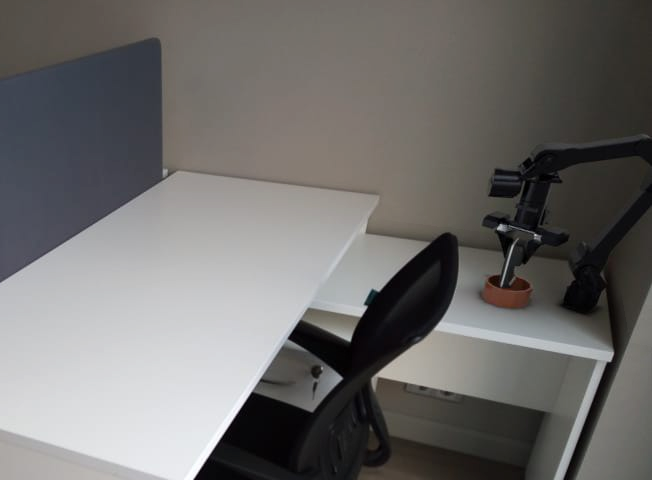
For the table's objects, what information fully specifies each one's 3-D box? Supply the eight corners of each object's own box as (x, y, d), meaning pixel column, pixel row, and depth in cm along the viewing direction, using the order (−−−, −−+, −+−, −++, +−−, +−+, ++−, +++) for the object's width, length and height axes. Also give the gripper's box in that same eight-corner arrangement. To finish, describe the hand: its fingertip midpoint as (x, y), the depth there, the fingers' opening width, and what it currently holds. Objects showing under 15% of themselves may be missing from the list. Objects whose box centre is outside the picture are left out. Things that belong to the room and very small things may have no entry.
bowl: (535, 300, 184) (540, 283, 182) (513, 312, 179) (518, 295, 177) (495, 286, 192) (500, 270, 189) (473, 297, 186) (477, 281, 184)
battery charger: (512, 291, 180) (525, 247, 174) (496, 287, 182) (508, 244, 176) (519, 281, 184) (532, 238, 178) (504, 277, 186) (516, 235, 180)
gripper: (590, 202, 169) (569, 264, 177) (513, 183, 182) (496, 242, 190) (567, 212, 163) (546, 276, 172) (489, 192, 176) (473, 253, 184)
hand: (515, 261), depth 180 cm, fingers closed on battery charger, 4 cm apart
